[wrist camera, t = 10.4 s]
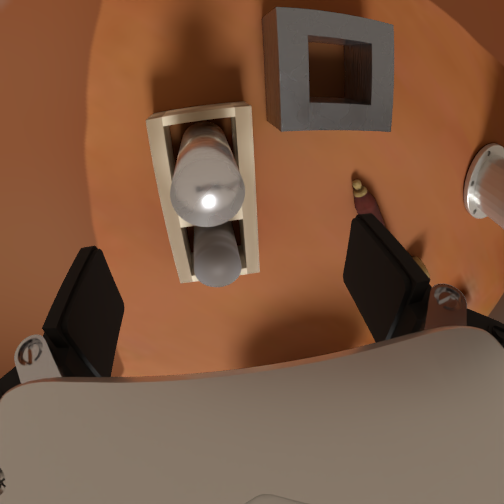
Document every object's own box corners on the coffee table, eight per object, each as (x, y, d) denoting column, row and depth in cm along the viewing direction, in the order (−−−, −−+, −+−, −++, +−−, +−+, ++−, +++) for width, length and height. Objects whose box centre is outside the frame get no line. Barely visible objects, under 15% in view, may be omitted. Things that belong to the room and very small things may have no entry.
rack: (243, 101, 23) (259, 110, 17) (252, 249, 32) (265, 292, 27) (153, 113, 22) (137, 127, 17) (181, 259, 32) (180, 304, 26)
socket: (363, 28, 20) (393, 24, 16) (363, 120, 26) (390, 131, 21) (261, 18, 19) (276, 7, 15) (266, 120, 24) (281, 131, 20)
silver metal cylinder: (223, 118, 24) (242, 153, 14) (227, 159, 26) (247, 222, 16) (179, 124, 23) (164, 164, 14) (184, 165, 26) (177, 231, 16)
